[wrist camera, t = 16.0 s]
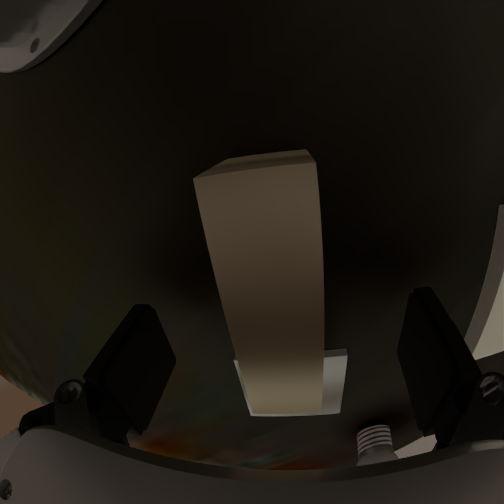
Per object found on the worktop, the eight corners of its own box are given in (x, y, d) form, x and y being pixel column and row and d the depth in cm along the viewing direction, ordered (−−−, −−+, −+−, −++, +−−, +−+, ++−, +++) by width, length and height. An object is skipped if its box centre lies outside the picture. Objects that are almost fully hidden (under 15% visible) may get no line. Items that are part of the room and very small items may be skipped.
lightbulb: (326, 444, 19) (322, 555, 9) (342, 408, 16) (344, 555, 6) (394, 437, 18) (403, 541, 8) (422, 400, 15) (446, 529, 5)
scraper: (191, 165, 10) (142, 188, 7) (345, 146, 9) (376, 159, 6) (252, 408, 17) (243, 457, 14) (338, 406, 16) (341, 456, 12)
